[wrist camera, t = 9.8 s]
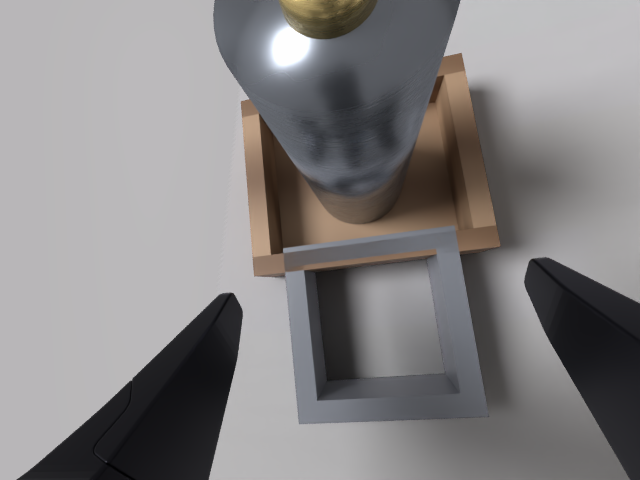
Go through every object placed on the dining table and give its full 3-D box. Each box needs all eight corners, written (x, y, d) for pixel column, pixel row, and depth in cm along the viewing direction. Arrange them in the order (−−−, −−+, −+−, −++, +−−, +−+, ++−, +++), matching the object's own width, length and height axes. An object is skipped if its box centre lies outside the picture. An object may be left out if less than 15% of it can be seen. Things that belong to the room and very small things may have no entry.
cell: (360, 242, 18) (328, 144, 5) (300, 187, 19) (142, -11, 6) (420, 177, 17) (547, -96, 5) (355, 126, 18) (317, -211, 6)
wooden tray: (479, 252, 17) (500, 246, 14) (272, 276, 19) (254, 276, 16) (447, 89, 18) (461, 52, 16) (260, 127, 20) (241, 101, 17)
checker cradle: (468, 392, 16) (489, 417, 13) (311, 400, 17) (298, 424, 15) (440, 234, 17) (454, 225, 14) (297, 253, 19) (282, 248, 16)
